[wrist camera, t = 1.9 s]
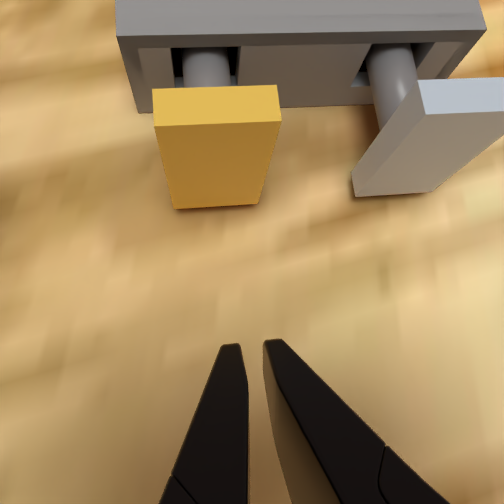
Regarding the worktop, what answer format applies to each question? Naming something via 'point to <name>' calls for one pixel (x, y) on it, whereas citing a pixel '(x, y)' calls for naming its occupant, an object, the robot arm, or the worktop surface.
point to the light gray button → (423, 124)
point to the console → (294, 42)
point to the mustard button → (215, 133)
